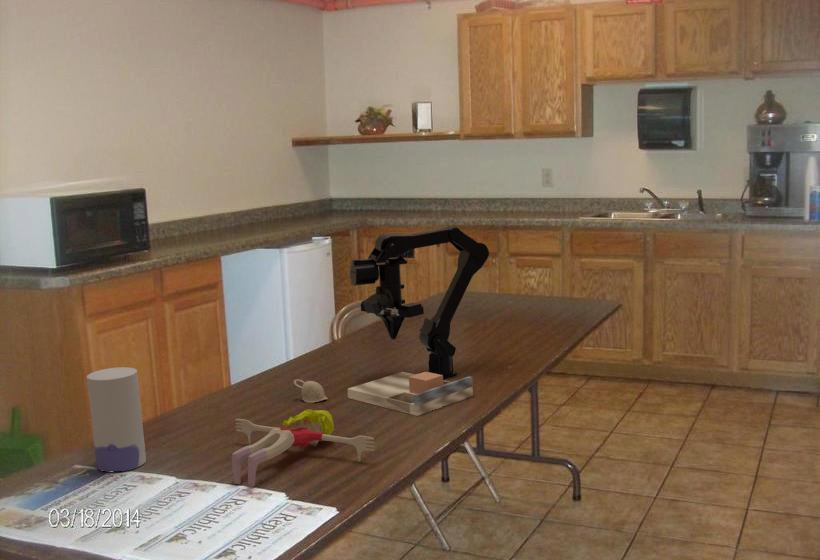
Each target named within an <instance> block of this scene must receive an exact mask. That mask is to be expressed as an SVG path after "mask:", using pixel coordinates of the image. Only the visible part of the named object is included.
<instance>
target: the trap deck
mask: <svg viewBox="0 0 820 560" xmlns="http://www.w3.org/2000/svg"><path fill="white" fill-rule="evenodd" d="M413 375H416V373H410V372H406V371H401V372H397V373H394V374H391V375H388V376H384V377H381V378H378V379H374V380H371V381H369V382H368V381H367V382H365V383H362V384H358V385H354V386H351V387H349V388H347V399H351V400H354V401H358V402H362V403H365V404H369V405H374V406H378V407H382V408H385V409H389V410H393V411H397V412H400V413H406V414H409V415H412V416H417V417H419V416H421V415H424V414H428V413H429V412H433V411H436V410H438V409H441V408H444V407H446V406H449V405H452V404H454V403H457V402H460V401H464V400H466V399H468V398H472V397H473V395H474V392H473V389H474V387H473V376H466V377H463V378H460V379H457V380H454V381H449V380H444V379H443V385H442V386H439V387H436V388H433V389H430V390H427V391H424V392H421V393H418V394H414V393H410V390H409V377H410V376H413ZM443 406H444V407H443ZM435 409H436V410H435ZM432 410H433V411H432Z"/></svg>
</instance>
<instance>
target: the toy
mask: <svg viewBox="0 0 820 560" xmlns="http://www.w3.org/2000/svg"><path fill="white" fill-rule="evenodd" d="M333 418H334V417H333V415H332V414H331V413H330V412H329V411H328V410H323V409H319V410H316V409H315V410H313V409H305V410H303V411H301V412H300V413H299V414H297V415H295V416H289V418H288V419H285V420H283V424H282V426H280V427H275V426H266V425H259V424H255V423H254V422H252V421H250V420H248V419H245V418H235V419H234V421H236V422H235V424H236V425H235V428H236V429H235V431H236V432H240V433H244V434H245V435H246V436H247V441H248V445H245V446H243V447H241V448H239V449H237V450H236V451H234V452H233V453H232V454H231V469H232V478H233V483H235V484H240V485H241V480H242V479H241V477H242V475H241V473H242V472H241V467H242V462H244V461H246V460H247V484H248V487H249V486H250V487H249V488H251V487H252V488H255V487H256V477H257V476H256V475H257V469H258V465H259V464H261V463H263V462H266V461H268V460H270V459H273V458H275V457H277V456H279V455H281V454H282V453H283V452H286V451H287V450H288V449H290V448H291V447H292V446H293V447H297V446H300V448H303V449H304V448H306V447H308V446H311V447H317V446H318V443H319V441H321V442H324V441H325V442H326V441H327V442H335V443H342V444H349V445H351V446H354V448H355V450H356V452H357V461H358V463H359V462H360V463H361V460H362V459H361V456H362V452H364V451H365V452H366V451H371V452H374V451H375V445H374V444H375V441H374V440H375V438H374V437H372V436H367V435H361V434H360V435H357V436H354V437H344V436H339V435H332V434H333V432H334V431H335V424H334V421H333ZM295 422H300V426H301V427H294V428H289V427H290V425H293V424H294V423H295ZM255 431H259V432H264V433H268V434H266V435H265V436H264V437H262V438H261V439H259V440H258V441H256V442H255V443H253V444H252V441H251V440H252V433H253V432H255ZM235 484H234V485H235ZM254 486H255V487H254Z"/></svg>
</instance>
